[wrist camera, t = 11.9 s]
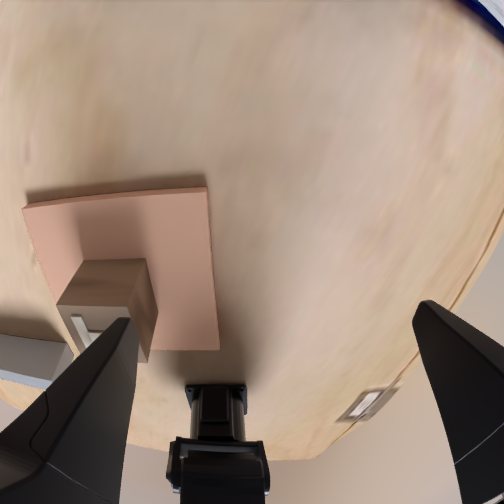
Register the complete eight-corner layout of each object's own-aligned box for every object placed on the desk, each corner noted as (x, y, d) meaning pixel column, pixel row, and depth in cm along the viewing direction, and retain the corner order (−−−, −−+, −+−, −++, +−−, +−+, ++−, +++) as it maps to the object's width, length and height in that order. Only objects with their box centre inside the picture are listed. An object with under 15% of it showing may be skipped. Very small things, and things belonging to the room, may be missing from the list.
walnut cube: (158, 312, 22) (146, 364, 18) (101, 311, 22) (82, 359, 18) (145, 258, 20) (126, 308, 15) (83, 260, 20) (54, 306, 15)
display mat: (219, 341, 26) (219, 350, 25) (79, 337, 25) (76, 345, 24) (207, 186, 19) (206, 192, 18) (28, 203, 18) (21, 209, 17)
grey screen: (74, 355, 27) (60, 392, 22) (-8, 342, 26) (-24, 370, 21) (66, 343, 25) (51, 380, 21) (-15, 331, 25) (-32, 359, 20)
